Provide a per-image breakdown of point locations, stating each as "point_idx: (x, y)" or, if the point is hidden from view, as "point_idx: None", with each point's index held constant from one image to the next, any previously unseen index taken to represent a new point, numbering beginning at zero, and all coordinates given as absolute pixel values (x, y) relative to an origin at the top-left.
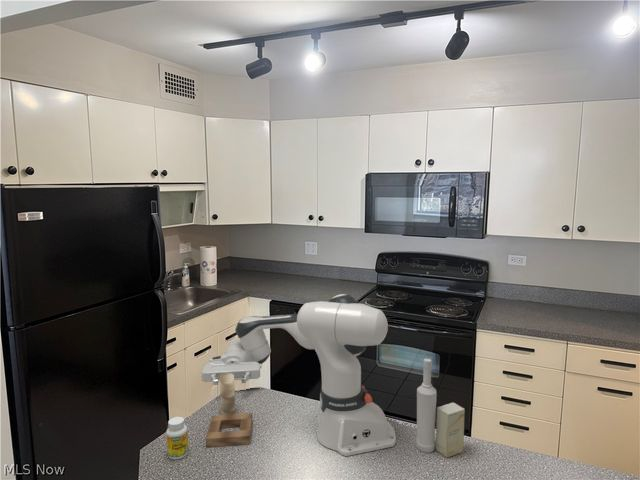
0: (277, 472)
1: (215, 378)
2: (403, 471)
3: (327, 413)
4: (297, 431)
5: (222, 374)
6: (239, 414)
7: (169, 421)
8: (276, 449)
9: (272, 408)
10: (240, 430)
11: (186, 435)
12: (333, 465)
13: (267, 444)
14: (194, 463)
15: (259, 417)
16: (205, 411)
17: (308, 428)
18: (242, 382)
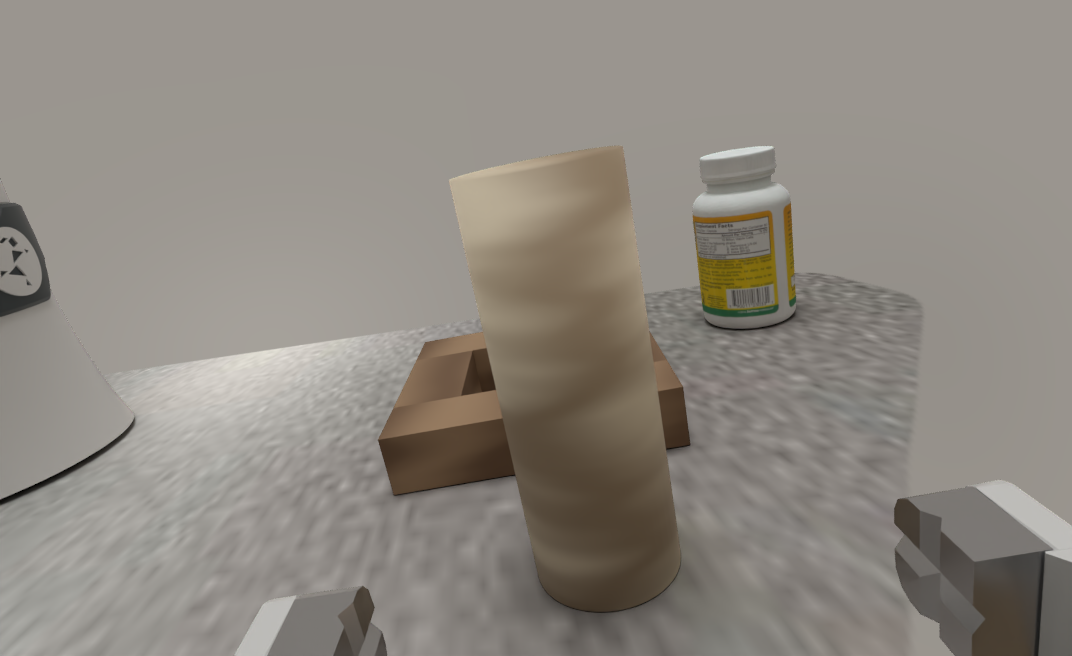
0: (361, 338)
1: (1028, 539)
2: None
3: (50, 289)
4: (169, 462)
5: (604, 153)
6: (473, 418)
7: (764, 146)
8: (328, 384)
9: (158, 646)
10: (468, 351)
11: (694, 231)
12: (177, 375)
13: (356, 393)
14: (650, 310)
15: (331, 529)
16: (869, 548)
17: (93, 484)
18: (367, 642)
